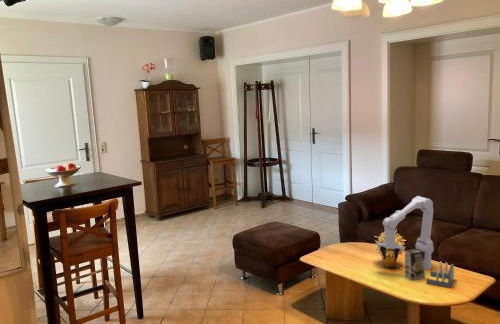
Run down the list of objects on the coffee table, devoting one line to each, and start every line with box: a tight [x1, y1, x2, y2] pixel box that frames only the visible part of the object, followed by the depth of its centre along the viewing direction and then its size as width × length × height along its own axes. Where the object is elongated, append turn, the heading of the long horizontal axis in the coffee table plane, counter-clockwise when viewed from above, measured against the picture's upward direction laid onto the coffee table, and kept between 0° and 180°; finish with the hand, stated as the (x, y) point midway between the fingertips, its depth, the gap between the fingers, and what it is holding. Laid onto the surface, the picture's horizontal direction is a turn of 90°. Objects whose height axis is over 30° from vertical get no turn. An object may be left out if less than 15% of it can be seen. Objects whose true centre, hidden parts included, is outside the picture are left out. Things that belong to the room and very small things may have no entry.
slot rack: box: [426, 261, 455, 289], centre depth 228 cm, size 13×12×10 cm
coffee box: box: [404, 248, 426, 281], centre depth 235 cm, size 9×6×16 cm
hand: (390, 259), depth 243 cm, fingers open, 6 cm apart
